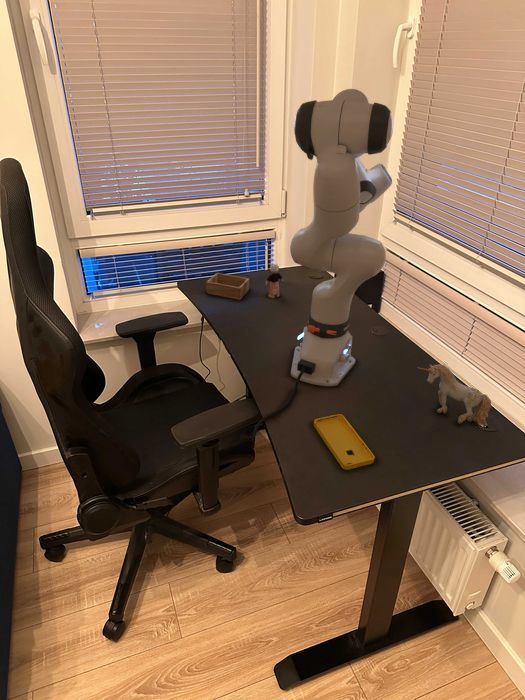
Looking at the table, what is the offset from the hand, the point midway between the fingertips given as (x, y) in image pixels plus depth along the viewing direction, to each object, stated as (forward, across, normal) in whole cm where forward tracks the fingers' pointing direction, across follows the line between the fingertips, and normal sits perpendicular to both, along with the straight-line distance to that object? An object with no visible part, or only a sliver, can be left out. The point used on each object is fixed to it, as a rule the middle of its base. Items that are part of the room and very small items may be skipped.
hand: (315, 231), depth 170 cm
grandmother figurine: (+29, +1, +8) cm, 30 cm away
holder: (+41, +2, -4) cm, 41 cm away
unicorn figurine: (-14, +58, +48) cm, 76 cm away
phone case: (+2, +74, +30) cm, 80 cm away
